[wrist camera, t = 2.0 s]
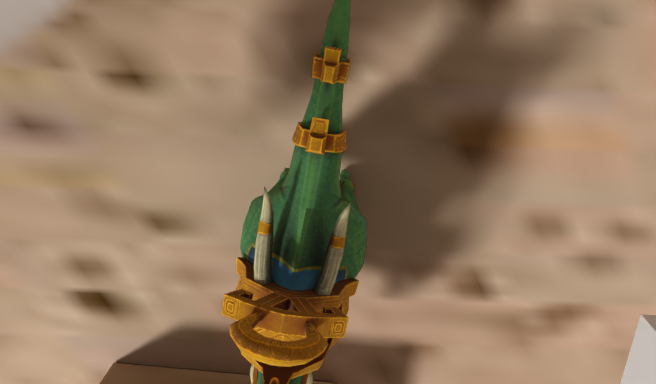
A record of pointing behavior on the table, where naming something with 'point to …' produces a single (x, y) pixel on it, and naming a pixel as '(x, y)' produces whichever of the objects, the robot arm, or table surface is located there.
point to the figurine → (302, 238)
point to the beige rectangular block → (171, 376)
